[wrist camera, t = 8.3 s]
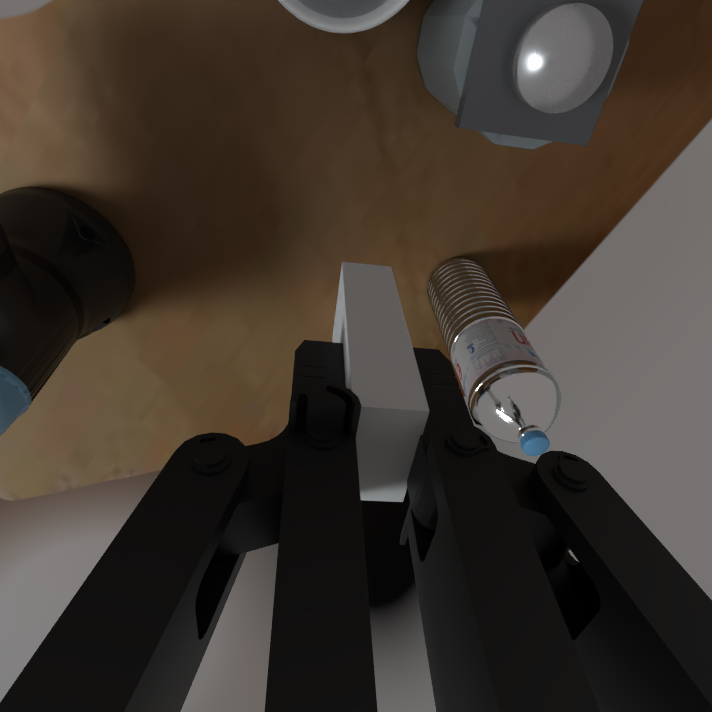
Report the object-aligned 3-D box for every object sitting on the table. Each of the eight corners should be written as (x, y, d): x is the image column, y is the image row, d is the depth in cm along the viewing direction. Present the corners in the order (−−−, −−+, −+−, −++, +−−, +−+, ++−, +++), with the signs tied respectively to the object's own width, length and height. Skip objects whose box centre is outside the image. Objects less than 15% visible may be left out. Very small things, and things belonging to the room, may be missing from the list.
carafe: (406, 102, 43) (442, 140, 30) (438, -82, 36) (504, -139, 23) (513, 117, 44) (593, 161, 31) (563, -57, 37) (696, -98, 24)
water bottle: (423, 260, 52) (487, 419, 31) (486, 249, 51) (593, 402, 31) (427, 314, 56) (487, 486, 35) (486, 304, 55) (581, 472, 35)
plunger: (438, 83, 40) (494, 115, 27) (456, -7, 36) (530, -20, 23) (507, 93, 41) (594, 129, 28) (531, 6, 37) (643, 1, 24)
